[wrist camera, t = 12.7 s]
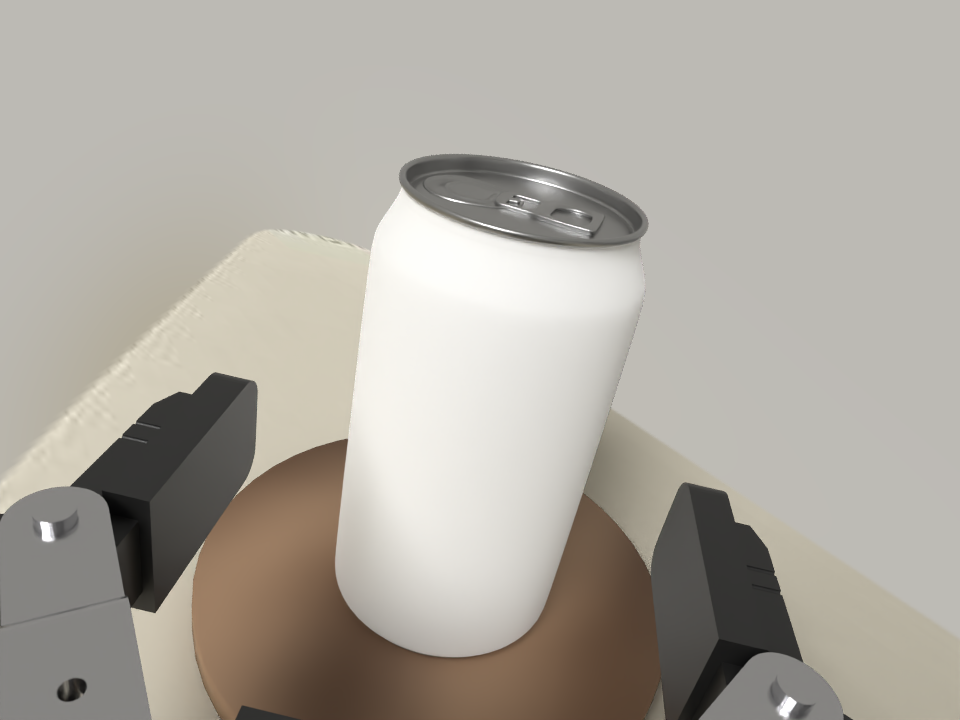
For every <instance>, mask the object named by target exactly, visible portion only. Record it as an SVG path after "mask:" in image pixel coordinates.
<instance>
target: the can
mask: <svg viewBox="0 0 960 720" xmlns="http://www.w3.org/2000/svg"><path fill="white" fill-rule="evenodd" d="M399 180H400V183H401V186H402V187H401V190H400V193H399V195H398V196H397V198H396V200H395V201H394V203H393V204H392V205H391V207H390V208H389V210H388V211H387V213H386V214H385V216H384V217H383V219H382V221H381V222H380V224H379V226H378V228H377V230H376V232H375V235H374V240H373V244H372V249H371V255H370V262H369V269H368V277H367V285H366V293H365V300H364V309H363V317H362V325H361V334H360V342H359V350H358V359H357V367H356V376H355V384H354V393H353V401H352V410H351V419H350V427H349V436H348V445H347V453H346V462H345V471H344V479H343V488H342V497H341V506H340V515H339V524H338V534H337V544H336V555H335V572H336V578H337V583H338V586H339V589H340V591H341V593H342V596H343V598H344V599H345V601H346V603H347V604H348V606H349V607H350V609H351V610H352V611H353V612H354V614H355V615H356V616H357V617H358V618H359V619H360V620H361V621H362V622H363V623H364V624H365V625H366V626H367V627H369V628H370V629H371V630H373V631H374V632H375V633H377V634H378V635H380V636H381V637H383V638H384V639H386V640H388V641H389V642H391V643H393V644H395V645H397V646H399V647H401V648H404V649H406V650H409V651H412V652H415V653H418V654H422V655H427V656H433V657H441V658H462V657H470V656H476V655H482V654H486V653H490V652H493V651H496V650H499V649H501V648H503V647H505V646H508V645H509V644H511V643H513V642H515V641H516V640H518V639H519V638H520V637H522V636H523V635H524V634H525V633H527V632H528V631H529V630H530V629H531V627H532V626H533V625H534V624H535V623H536V621H537V620H538V618H539V616H540V615H541V613H542V610H543V608H544V606H545V604H546V601H547V598H548V595H549V593H550V590H551V587H552V584H553V581H554V578H555V575H556V572H557V569H558V566H559V563H560V560H561V557H562V554H563V551H564V548H565V545H566V542H567V539H568V536H569V533H570V530H571V527H572V524H573V521H574V518H575V515H576V512H577V509H578V506H579V503H580V500H581V497H582V494H583V491H584V488H585V485H586V482H587V478H588V475H589V472H590V469H591V466H592V463H593V460H594V457H595V454H596V451H597V448H598V445H599V442H600V439H601V436H602V432H603V429H604V426H605V423H606V420H607V417H608V414H609V411H610V408H611V405H612V402H613V399H614V395H615V392H616V389H617V386H618V383H619V380H620V377H621V374H622V371H623V367H624V364H625V361H626V358H627V355H628V352H629V349H630V345H631V342H632V339H633V336H634V333H635V330H636V326H637V323H638V319H639V316H640V312H641V309H642V306H643V301H644V296H645V276H644V269H643V264H642V258H641V253H640V238H641V237H642V236H643V235H644V234H645V233H646V231H647V229H648V219H647V217H646V215H645V213H644V212H643V211H642V210H641V209H640V208H639V207H638V206H637V205H636V204H635V203H633V202H632V201H631V200H629V199H628V198H626V197H624V196H623V195H621V194H619V193H617V192H616V191H614V190H612V189H609V188H607V187H605V186H603V185H601V184H598V183H596V182H593V181H591V180H588V179H585V178H583V177H580V176H577V175H574V174H571V173H568V172H564V171H561V170H557V169H554V168H550V167H546V166H542V165H538V164H533V163H528V162H524V161H518V160H513V159H507V158H500V157H492V156H482V155H469V154H442V155H431V156H425V157H421V158H417V159H414V160H412V161H410V162H408V163H407V164H405V165H404V166H403V167H402V168H401V170H400V173H399Z"/></svg>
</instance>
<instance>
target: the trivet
mask: <svg viewBox="0 0 960 720" xmlns="http://www.w3.org/2000/svg"><path fill="white" fill-rule="evenodd" d="M347 445H348V439H344V440H339V441H335V442H332V443H328V444H325V445H321V446H318V447H315V448H312V449H310V450H307V451H305V452H302V453H300V454H297V455H295V456H293V457H291V458H289V459H287V460H285V461H283V462H281V463H279V464H277V465H275V466H274V467H272V468H271V469H269V470H268V471H266V472H265V473H263V474H262V475H260V476H259V477H257V478H256V479H254V480H253V481H252V482H251V483H250V484H249V485H248V486H246V487H245V488H244V489H243V490H242V491H241V492H240V493H239V494H237V495H236V496H235V498H234V499H233V500H232V501H231V502H230V504H229V505H228V507H227V508H226V510H225V511H224V513H223V514H222V515H221V517H220V518H219V520H218V521H217V523H216V524H215V526H214V527H213V529H212V530H211V532H210V533H209V535H208V536H207V538H206V540H205V543H204V545H203V547H202V550H201V552H200V554H199V558H198V562H197V566H196V571H195V575H194V579H193V595H192V632H193V640H194V649H195V657H196V661H197V664H198V668H199V671H200V674H201V678H202V681H203V684H204V687H205V689H206V691H207V693H208V695H209V697H210V699H211V701H212V703H213V705H214V707H215V709H216V711H217V713H218V715H219V716H220V718H221V719H222V720H235V719H236V717H237V715H238V712H239V710H240V708H241V706H242V705H244V706H248V707H252V708H256V709H260V710H264V711H268V712H272V713H276V714H280V715H284V716H289V717H293V718H297V719H301V720H644V718H645V716H646V714H647V712H648V710H649V707H650V705H651V703H652V700H653V698H654V695H655V692H656V690H657V687H658V684H659V682H660V678H661V670H660V661H659V651H658V641H657V632H656V622H655V613H654V603H653V593H652V584H651V576H650V574H649V572H648V570H647V567H646V565H645V563H644V562H643V560H642V558H641V557H640V555H639V554H638V552H637V550H636V549H635V547H634V545H633V544H632V543H631V541H630V540H629V539H628V537H627V536H626V535H625V534H624V532H623V531H622V530H621V529H620V527H619V526H618V525H617V524H616V523H615V522H614V521H613V520H612V519H611V518H610V517H609V516H608V515H607V514H606V513H605V512H604V511H603V509H602V508H600V507H599V506H598V505H597V504H596V503H594V502H593V501H592V500H591V499H590V498H589V497H587V496H586V495H585V494H584V493H583V494H582V497H581V500H580V503H579V506H578V509H577V512H576V515H575V518H574V521H573V524H572V527H571V530H570V533H569V536H568V539H567V542H566V545H565V548H564V551H563V554H562V557H561V560H560V563H559V566H558V569H557V572H556V575H555V578H554V581H553V584H552V587H551V590H550V593H549V595H548V598H547V601H546V604H545V606H544V608H543V610H542V613H541V615H540V616H539V618H538V620H537V621H536V623H535V624H534V625H533V626H532V627H531V629H530V630H529V631H528V632H527V633H525V634H524V635H523V636H522V637H520V638H519V639H518V640H516V641H515V642H513V643H511V644H509V645H508V646H505V647H503V648H501V649H499V650H496V651H493V652H490V653H486V654H482V655H476V656H470V657H462V658H441V657H433V656H427V655H422V654H418V653H415V652H412V651H409V650H406V649H404V648H401V647H399V646H397V645H395V644H393V643H391V642H389V641H388V640H386V639H384V638H383V637H381V636H380V635H378V634H377V633H375V632H374V631H373V630H371V629H370V628H369V627H367V626H366V625H365V624H364V623H363V622H362V621H361V620H360V619H359V618H358V617H357V616H356V615H355V614H354V612H353V611H352V610H351V609H350V607H349V606H348V604H347V603H346V601H345V599H344V598H343V596H342V593H341V591H340V589H339V586H338V583H337V578H336V572H335V555H336V544H337V534H338V524H339V515H340V506H341V497H342V488H343V479H344V471H345V462H346V453H347Z"/></svg>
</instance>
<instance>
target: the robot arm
mask: <svg viewBox="0 0 960 720" xmlns="http://www.w3.org/2000/svg"><path fill="white" fill-rule="evenodd" d="M256 418H257V385H256V383H255V382H254V381H251V380H246V379H242V378H238V377H233V376H229V375H225V374H220V373H213V374H211V375H210V376H209V377H208V378H207V379H206V380H205V381H204V382H203V383H202V384H201V386H200V387H199V388H198V389H197V390H196V391H195V392H194V393H193V394H187V393H183V392H178V393H176V394H173V395H171V396H169V397H167V398H165V399H163V400H161V401H159V402H156V403H154V404H153V405H152V406H151V407H150V408H149V409H148V410H147V411H146V412H145V413H144V414H143V415H142V416H141V417H140V418H139V419H138V420H137V421H136V424H133V425H132V426H131V427H130V428H129V429H128V430H127V431H126V432H125V433H124V434H123V436H122V438H118V439H117V440H116V441H115V442H114V443H113V444H112V445H111V446H110V447H109V448H108V449H107V450H106V451H105V452H104V453H103V454H102V455H101V456H100V457H99V458H98V459H97V460H96V461H95V462H94V463H93V464H92V465H91V466H90V467H89V468H88V469H87V470H86V471H85V472H84V473H83V474H82V475H81V476H80V477H79V478H78V479H77V480H76V481H75V482H74V483H73V484H72V485H71V486H70V487H55V488H49V489H45V490H41V491H38V492H35V493H33V494H30V495H28V496H26V497H24V498H22V499H20V500H19V501H17V502H16V503H15V504H13V505H12V506H11V507H10V508H9V509H8V510H7V511H6V512H5V514H0V720H152V719H151V714H150V709H149V704H148V698H147V693H146V688H145V682H144V677H143V672H142V666H141V661H140V656H139V651H138V645H137V640H136V635H135V629H134V624H133V619H132V613H131V607H132V608H136V609H140V610H144V611H148V612H153V613H156V611H157V610H158V608H159V607H160V605H161V604H162V602H163V601H164V600H165V598H166V597H167V595H168V594H169V592H170V591H171V589H172V588H173V586H174V585H175V583H176V582H177V580H178V579H179V577H180V576H181V574H182V573H183V571H184V570H185V569H186V567H187V566H188V564H189V563H190V561H191V560H192V558H193V557H194V555H195V554H196V552H197V551H198V549H199V548H200V546H201V545H202V543H203V542H204V541H205V539H206V538H207V536H208V535H209V533H210V532H211V530H212V529H213V527H214V526H215V524H216V523H217V521H218V520H219V518H220V517H221V515H222V514H223V513H224V511H225V510H226V508H227V507H228V505H229V504H230V502H231V501H232V499H233V498H234V496H235V495H236V493H237V492H238V490H239V489H240V487H241V486H242V484H243V483H244V481H245V480H246V478H247V476H248V474H249V471H250V469H251V466H252V463H253V459H254V454H255V442H256ZM774 573H775V571H774V567H773V564H772V561H771V558H770V555H769V551H768V548H767V547H766V546H765V545H764V543H763V542H762V541H761V539H760V538H759V537H758V536H757V534H756V533H755V532H754V530H753V529H752V528H751V527H750V526H749V525H744V524H740V523H736V522H735V521H734V517H733V513H732V509H731V506H730V502H729V498H728V495H727V493H726V492H724V491H720V490H716V489H711V488H707V487H703V486H698V485H694V484H690V483H683V484H682V485H681V486H680V488H679V489H678V492H677V494H676V496H675V499H674V501H673V504H672V506H671V509H670V511H669V513H668V516H667V518H666V521H665V523H664V526H663V528H662V531H661V533H660V535H659V538H658V540H657V543H656V546H655V549H654V553H653V558H652V564H651V584H652V593H653V603H654V613H655V622H656V632H657V641H658V651H659V661H660V670H661V680H662V689H663V699H664V709H665V718H666V720H852V719H851V718H849V717H848V716H846V715H845V714H843V710H842V707H841V703H840V701H839V699H838V697H837V695H836V694H835V692H834V691H833V689H832V688H831V686H830V685H829V684H828V683H827V682H826V681H825V680H824V679H823V678H822V677H821V676H820V675H819V674H818V673H817V672H816V671H814V670H813V669H812V668H811V667H809V666H808V665H806V664H805V663H803V660H802V657H801V654H800V651H799V647H798V644H797V641H796V638H795V635H794V631H793V628H792V625H791V622H790V619H789V615H788V612H787V609H786V606H785V603H784V599H783V596H782V595H780V591H781V590H780V587H779V583H778V580H777V577H776V576H774ZM235 720H301V719H297V718H293V717H289V716H284V715H280V714H276V713H272V712H268V711H264V710H260V709H256V708H252V707H248V706H244V705H242V706H241V708H240V710H239V712H238V715H237V717H236V719H235Z"/></svg>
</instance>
